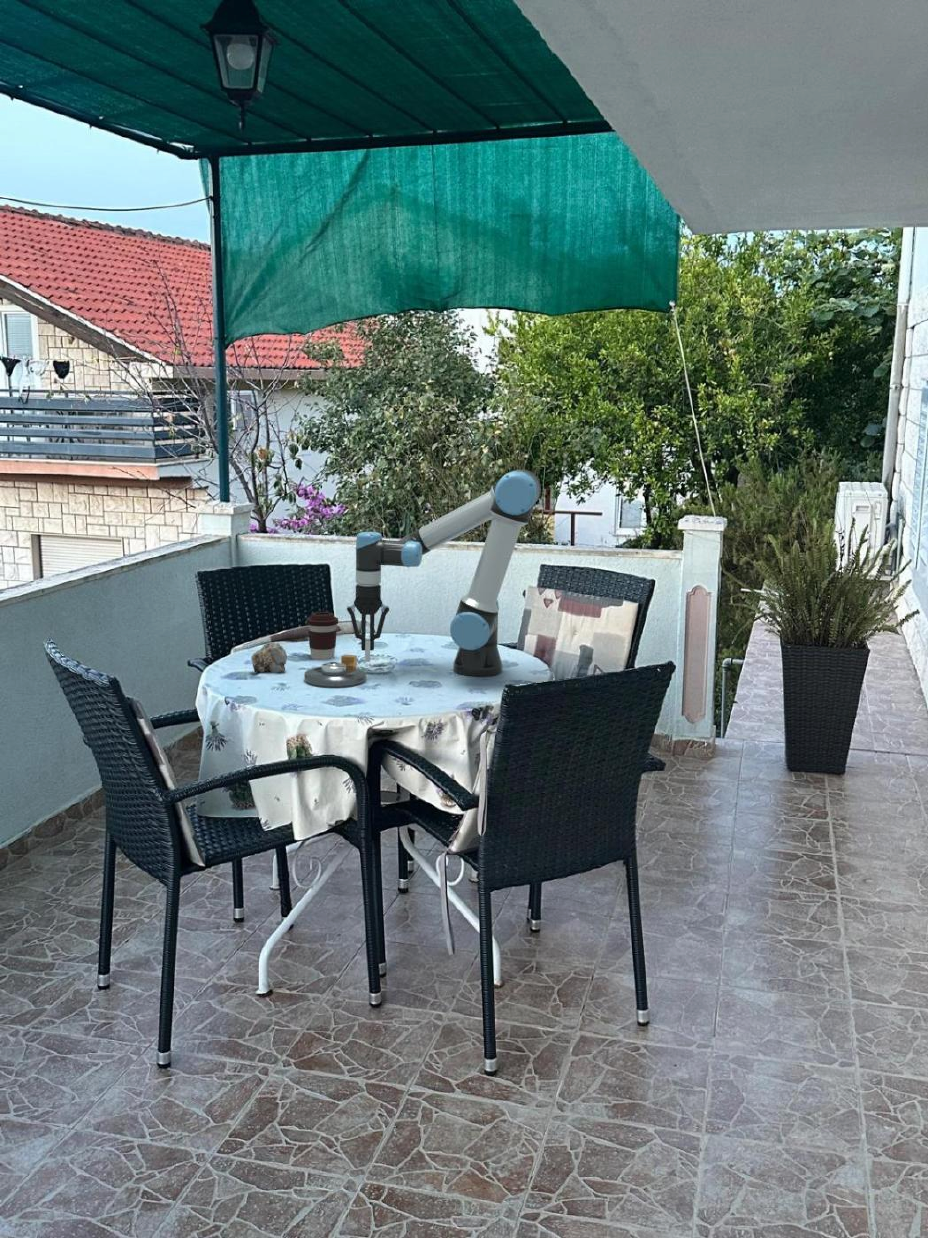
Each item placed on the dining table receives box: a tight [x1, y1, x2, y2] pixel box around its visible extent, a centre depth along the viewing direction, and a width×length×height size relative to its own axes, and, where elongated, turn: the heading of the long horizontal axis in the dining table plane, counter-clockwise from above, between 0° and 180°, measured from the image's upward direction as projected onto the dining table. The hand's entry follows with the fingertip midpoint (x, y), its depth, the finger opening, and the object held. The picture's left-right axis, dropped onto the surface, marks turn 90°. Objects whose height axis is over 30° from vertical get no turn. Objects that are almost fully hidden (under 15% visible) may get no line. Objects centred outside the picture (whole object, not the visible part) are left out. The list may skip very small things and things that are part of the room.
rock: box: [250, 641, 288, 675], centre depth 351 cm, size 9×12×10 cm
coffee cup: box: [306, 611, 339, 661], centre depth 368 cm, size 10×10×15 cm
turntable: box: [303, 654, 367, 689], centre depth 343 cm, size 18×21×5 cm
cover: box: [321, 661, 346, 676], centre depth 341 cm, size 7×7×3 cm
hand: (367, 660), depth 352 cm, fingers closed
